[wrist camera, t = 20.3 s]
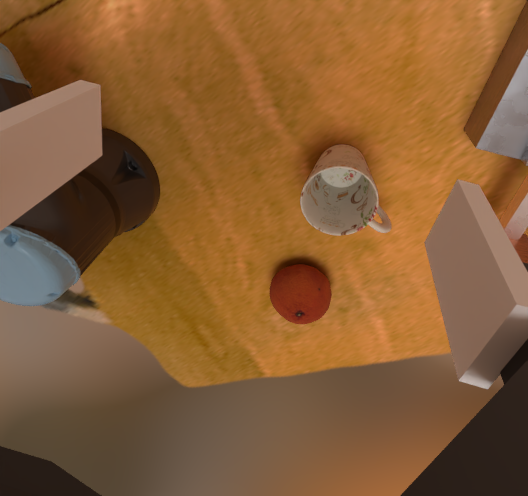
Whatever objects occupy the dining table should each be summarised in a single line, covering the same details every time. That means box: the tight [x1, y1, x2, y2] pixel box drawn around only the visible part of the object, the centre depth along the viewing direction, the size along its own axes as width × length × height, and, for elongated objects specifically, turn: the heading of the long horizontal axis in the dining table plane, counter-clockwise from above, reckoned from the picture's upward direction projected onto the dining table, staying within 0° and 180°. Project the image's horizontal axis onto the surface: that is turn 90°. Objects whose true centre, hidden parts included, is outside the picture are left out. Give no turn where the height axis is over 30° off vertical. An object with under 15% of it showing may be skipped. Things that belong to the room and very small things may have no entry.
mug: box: [300, 144, 391, 235], centre depth 50 cm, size 8×13×10 cm, turn 54°
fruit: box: [270, 264, 332, 324], centre depth 61 cm, size 9×9×8 cm
